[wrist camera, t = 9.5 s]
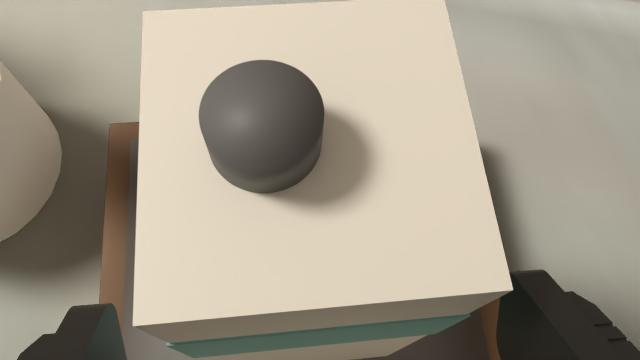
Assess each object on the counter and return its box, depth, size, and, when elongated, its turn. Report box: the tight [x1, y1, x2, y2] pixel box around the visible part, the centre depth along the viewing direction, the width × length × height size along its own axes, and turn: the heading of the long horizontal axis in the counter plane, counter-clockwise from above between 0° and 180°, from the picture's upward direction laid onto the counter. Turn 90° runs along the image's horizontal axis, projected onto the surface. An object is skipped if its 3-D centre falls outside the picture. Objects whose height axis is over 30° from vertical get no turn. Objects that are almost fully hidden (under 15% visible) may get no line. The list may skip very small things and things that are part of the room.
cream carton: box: [133, 0, 513, 360], centre depth 15 cm, size 6×6×14 cm
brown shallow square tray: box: [99, 122, 501, 360], centre depth 23 cm, size 16×16×4 cm
